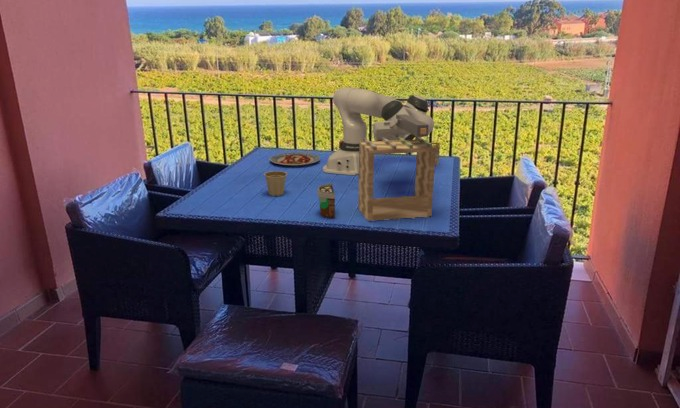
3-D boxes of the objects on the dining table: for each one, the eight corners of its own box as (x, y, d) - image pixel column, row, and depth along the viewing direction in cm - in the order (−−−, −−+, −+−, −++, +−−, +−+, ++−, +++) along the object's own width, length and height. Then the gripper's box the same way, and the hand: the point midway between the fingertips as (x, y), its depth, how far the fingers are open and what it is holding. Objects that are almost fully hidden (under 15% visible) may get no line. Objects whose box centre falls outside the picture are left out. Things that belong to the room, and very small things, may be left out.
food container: (316, 208, 198) (316, 183, 194) (332, 208, 198) (332, 183, 195) (317, 220, 186) (317, 193, 183) (335, 219, 186) (335, 193, 183)
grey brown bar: (395, 125, 199) (396, 114, 198) (405, 124, 200) (406, 114, 199) (417, 137, 177) (418, 125, 176) (428, 137, 178) (429, 125, 177)
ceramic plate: (275, 155, 279) (275, 150, 278) (323, 157, 277) (323, 151, 276) (264, 168, 255) (264, 162, 254) (316, 169, 253) (316, 163, 252)
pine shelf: (358, 208, 197) (359, 138, 188) (417, 204, 202) (421, 135, 193) (368, 221, 184) (369, 146, 176) (431, 217, 189) (436, 143, 180)
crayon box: (436, 163, 263) (438, 141, 259) (438, 165, 260) (440, 142, 256) (422, 164, 262) (424, 141, 258) (424, 165, 259) (426, 143, 255)
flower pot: (291, 191, 217) (290, 172, 215) (281, 198, 209) (281, 178, 206) (271, 189, 220) (270, 170, 218) (261, 196, 212) (260, 175, 209)
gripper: (419, 138, 210) (431, 127, 197) (370, 141, 206) (380, 129, 192) (417, 124, 211) (429, 111, 198) (369, 126, 207) (377, 113, 194)
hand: (404, 120), depth 195 cm, fingers closed on grey brown bar, 4 cm apart
